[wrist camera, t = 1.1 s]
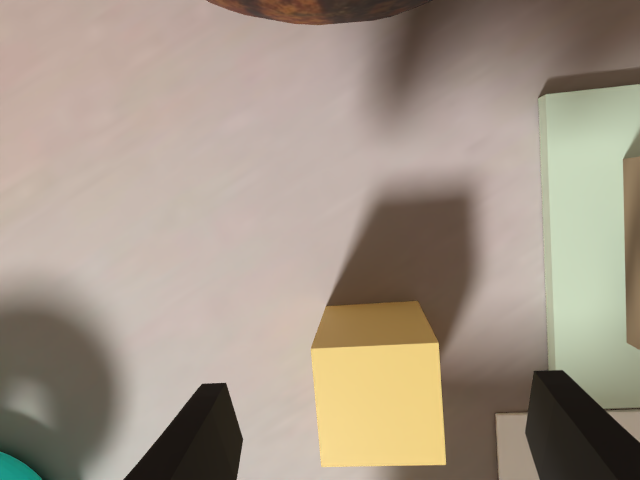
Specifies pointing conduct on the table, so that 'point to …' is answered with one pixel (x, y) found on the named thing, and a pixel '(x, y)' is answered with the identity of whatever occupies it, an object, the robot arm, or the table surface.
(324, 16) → the jug
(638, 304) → the base brick
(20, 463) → the donuts
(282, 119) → the table surface
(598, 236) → the build plate
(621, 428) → the robot arm
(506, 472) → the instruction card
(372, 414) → the top brick
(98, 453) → the table surface
